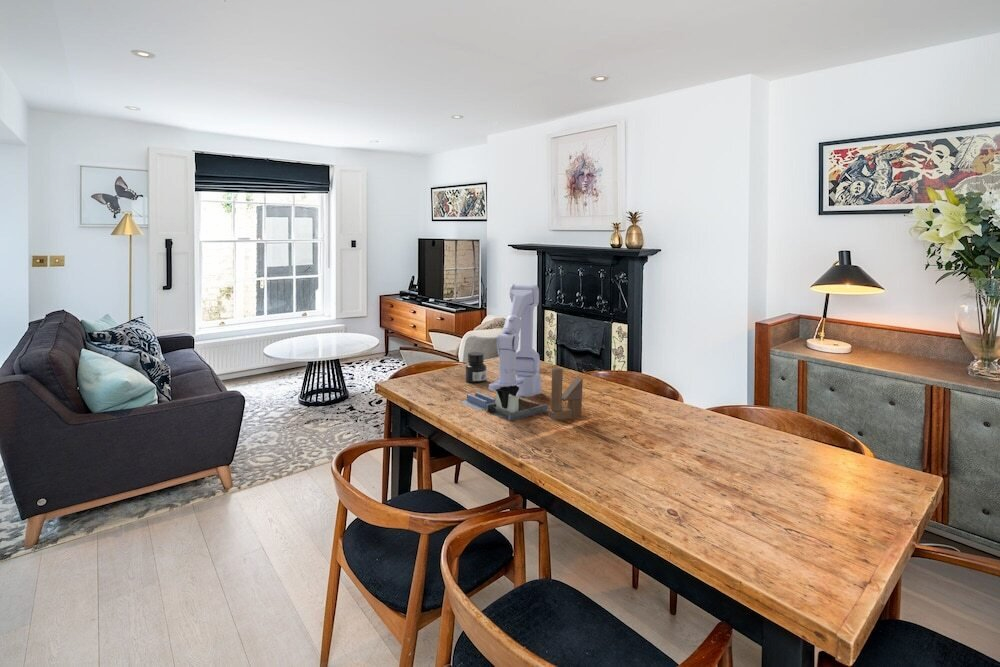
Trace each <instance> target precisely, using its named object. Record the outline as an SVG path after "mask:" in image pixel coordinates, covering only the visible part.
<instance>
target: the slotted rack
mask: <svg viewBox="0 0 1000 667" xmlns="http://www.w3.org/2000/svg"><path fill="white" fill-rule="evenodd" d="M519 397H521V398H525V399H526V397H525V396H519ZM485 410H486V413H488V414H491V415H493V416H496V417H499V418H500V419H503V420H506V421H508V422H510V423H511V422H514V421H517V420H522V419H526V418H529V417H532V416H537V415H540V414H544V413H547V412H548V413H549V404H547V403H544V404H539V406H536V407H532V408H529V409H525V410H520V409H518V411H517V412H513V413H509V412H507V411H504V410H502V409H499V408H497V407H496V401H495V403H491V404H486V409H485Z"/></svg>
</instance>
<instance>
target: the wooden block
mask: <svg viewBox="0 0 1000 667" xmlns="http://www.w3.org/2000/svg"><path fill="white" fill-rule="evenodd" d="M563 374H564V371H563V368H561V367H553V368H551V398H550V402H551V403H550V409H548V417H549V419H551V420H552V421H558V420H565V419H571V418H580V417H582V402H583V400H582V399H583V380H584V379H583V378H582V377H579V376H576V377H575V378H574V379H573V381H572V382H571V383H570V384H569V386H568V387H567V388H566V389H565V390H564V391H563ZM566 401H567V408H566V407H563V402H566Z"/></svg>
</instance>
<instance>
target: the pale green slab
mask: <svg viewBox="0 0 1000 667" xmlns="http://www.w3.org/2000/svg"><path fill="white" fill-rule="evenodd" d="M495 393H496V394H495V395H496V396H495V402H496V407H497V408H499V409H502V410H504V411H507V412H509V413H513V412H517V411H518V401H519V397H520V396H517V395H516V396H513V395H511V394H509V397H508V407H507V409H505V408H502V405H501V401H500V398H499V395H498V393H497V391H496V390H495Z"/></svg>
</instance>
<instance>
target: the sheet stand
mask: <svg viewBox="0 0 1000 667" xmlns="http://www.w3.org/2000/svg"><path fill="white" fill-rule="evenodd" d="M495 402H496V398H493V397H491V396H489V395H486V394H483V393H481V392H478V391H477V392H474V395H473V394H470V393H467V394H466V400H462V401H459V403H461V404H464V405H466V406H468V407H470V408H473V409H475V410H478V411H483V410H486V404H491V403H495Z"/></svg>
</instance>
